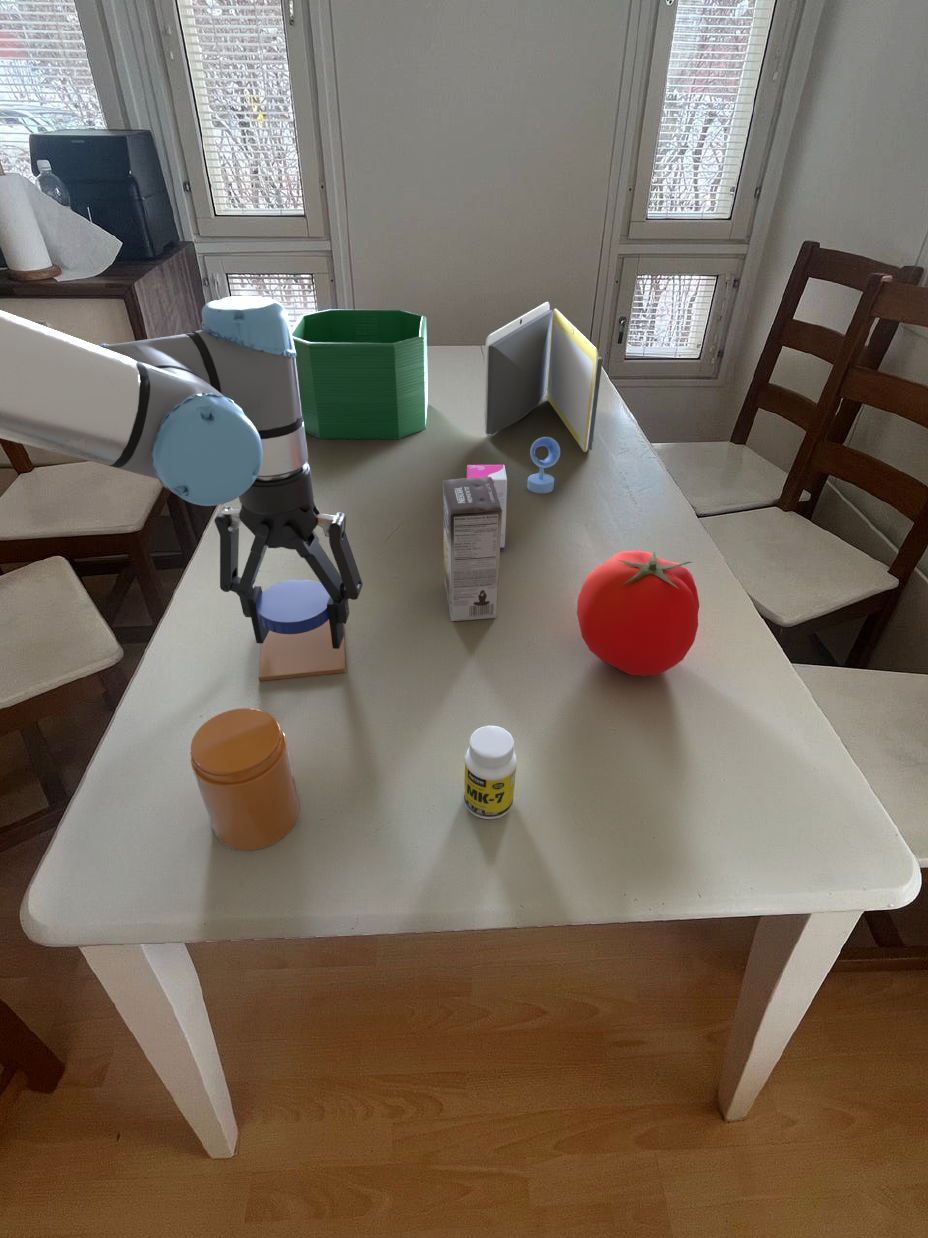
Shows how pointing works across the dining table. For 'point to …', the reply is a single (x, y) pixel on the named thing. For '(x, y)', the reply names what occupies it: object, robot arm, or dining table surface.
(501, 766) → the supplement bottle
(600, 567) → the tomato
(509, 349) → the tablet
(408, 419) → the planter
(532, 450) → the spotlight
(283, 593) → the lid
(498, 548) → the coffee box
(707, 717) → the dining table surface
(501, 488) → the supplement box
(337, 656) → the coaster
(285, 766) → the jar
